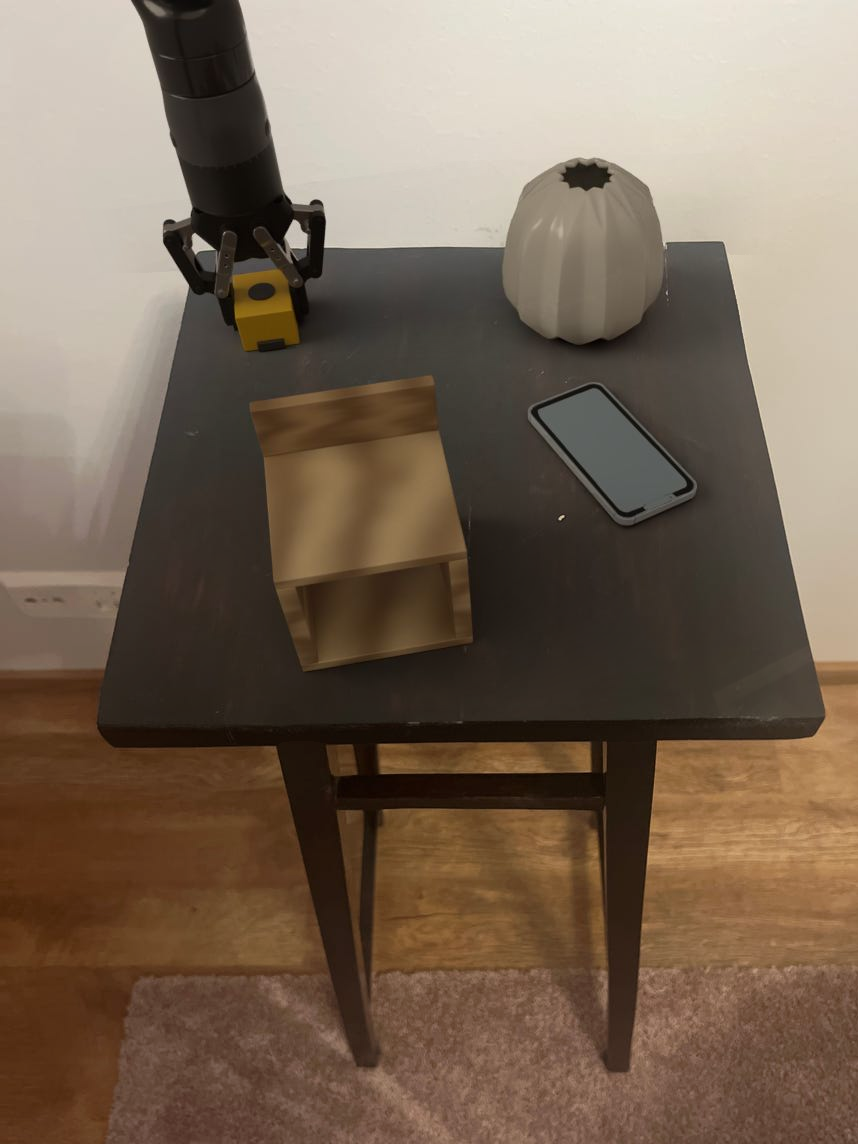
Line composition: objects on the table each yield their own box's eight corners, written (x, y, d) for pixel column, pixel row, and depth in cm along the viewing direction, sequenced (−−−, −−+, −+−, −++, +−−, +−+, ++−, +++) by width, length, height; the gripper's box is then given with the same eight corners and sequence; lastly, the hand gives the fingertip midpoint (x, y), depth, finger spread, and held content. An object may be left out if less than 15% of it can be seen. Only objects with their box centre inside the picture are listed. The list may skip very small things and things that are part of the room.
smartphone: (598, 378, 83) (703, 488, 75) (597, 386, 84) (701, 495, 76) (522, 408, 81) (622, 523, 73) (522, 416, 82) (621, 531, 74)
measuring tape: (244, 354, 88) (234, 319, 85) (241, 308, 92) (231, 273, 88) (300, 346, 88) (292, 311, 85) (294, 301, 92) (286, 266, 89)
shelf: (303, 672, 68) (259, 539, 56) (291, 543, 74) (249, 401, 63) (473, 643, 69) (463, 506, 57) (445, 518, 75) (432, 374, 64)
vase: (531, 259, 94) (532, 119, 83) (672, 286, 91) (692, 144, 80) (482, 347, 87) (476, 206, 76) (633, 378, 84) (649, 236, 73)
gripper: (310, 101, 78) (342, 286, 92) (130, 123, 77) (189, 307, 91) (318, 149, 74) (350, 335, 88) (127, 173, 73) (190, 358, 87)
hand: (268, 320), depth 89 cm, fingers closed on measuring tape, 5 cm apart
